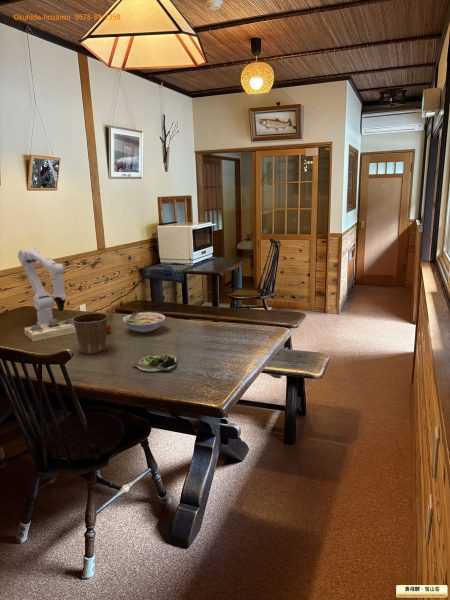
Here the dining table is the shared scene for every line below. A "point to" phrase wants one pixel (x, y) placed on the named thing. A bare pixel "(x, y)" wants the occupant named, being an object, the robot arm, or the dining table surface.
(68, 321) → the button
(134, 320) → the ramen bowl
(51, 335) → the button board
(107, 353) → the dining table surface
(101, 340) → the plant pot
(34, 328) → the button
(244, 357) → the dining table surface
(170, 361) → the salad plate
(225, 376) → the dining table surface
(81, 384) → the dining table surface
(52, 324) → the button
